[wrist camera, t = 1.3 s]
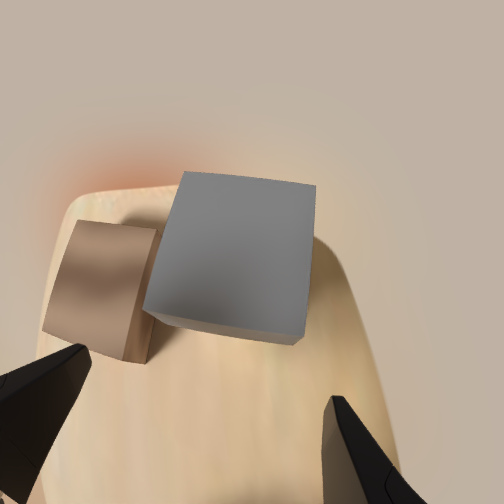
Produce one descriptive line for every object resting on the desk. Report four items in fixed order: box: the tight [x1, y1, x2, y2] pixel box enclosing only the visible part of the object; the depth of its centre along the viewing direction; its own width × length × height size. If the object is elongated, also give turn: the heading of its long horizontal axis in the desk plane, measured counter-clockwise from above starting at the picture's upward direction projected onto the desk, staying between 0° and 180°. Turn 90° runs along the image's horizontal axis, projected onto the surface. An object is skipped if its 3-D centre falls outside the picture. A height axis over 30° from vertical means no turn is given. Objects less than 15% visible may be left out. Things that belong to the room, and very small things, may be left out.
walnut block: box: [42, 220, 162, 364], centre depth 21 cm, size 10×8×4 cm
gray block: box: [142, 171, 316, 345], centre depth 16 cm, size 8×7×4 cm
